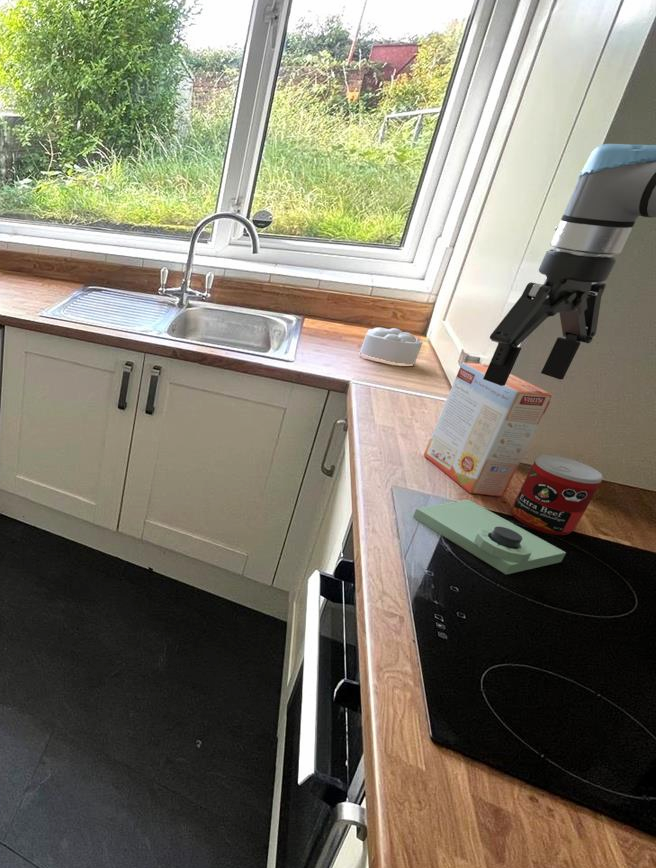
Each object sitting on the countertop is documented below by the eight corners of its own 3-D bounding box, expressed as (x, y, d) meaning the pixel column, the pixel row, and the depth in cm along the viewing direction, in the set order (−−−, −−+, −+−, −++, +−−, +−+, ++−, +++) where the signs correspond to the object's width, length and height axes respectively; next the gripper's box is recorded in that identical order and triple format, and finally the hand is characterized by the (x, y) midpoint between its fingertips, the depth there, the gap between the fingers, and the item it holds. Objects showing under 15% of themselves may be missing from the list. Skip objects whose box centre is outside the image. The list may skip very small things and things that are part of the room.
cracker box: (505, 498, 105) (556, 394, 97) (468, 494, 106) (516, 391, 98) (454, 458, 118) (495, 363, 110) (421, 455, 118) (460, 360, 110)
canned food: (499, 513, 101) (526, 458, 96) (526, 504, 103) (553, 451, 99) (555, 541, 94) (586, 484, 90) (582, 531, 97) (614, 475, 93)
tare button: (523, 547, 87) (528, 538, 87) (507, 551, 87) (512, 541, 86) (499, 534, 90) (503, 525, 90) (484, 537, 89) (488, 528, 89)
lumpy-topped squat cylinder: (362, 349, 177) (371, 322, 174) (415, 360, 169) (425, 332, 166) (357, 358, 170) (366, 330, 167) (412, 370, 162) (423, 341, 159)
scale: (561, 562, 89) (571, 544, 88) (503, 575, 86) (513, 557, 85) (463, 508, 102) (471, 491, 100) (410, 517, 99) (417, 500, 97)
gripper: (605, 245, 95) (548, 365, 103) (495, 248, 88) (444, 375, 97) (669, 255, 88) (602, 382, 96) (554, 259, 82) (494, 394, 90)
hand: (523, 379), depth 96 cm, fingers open, 13 cm apart
